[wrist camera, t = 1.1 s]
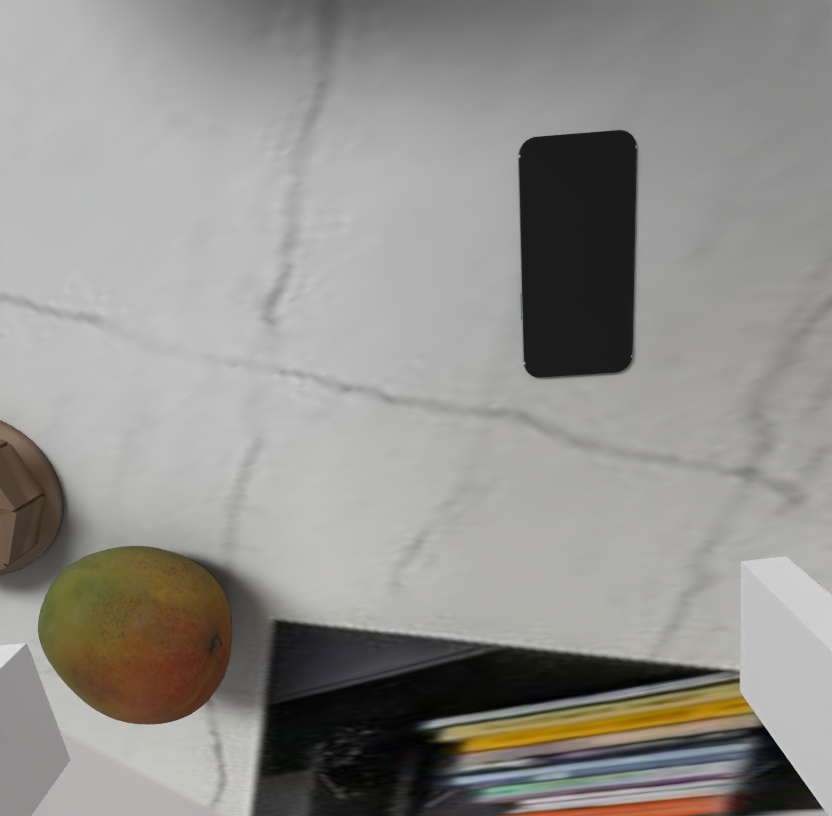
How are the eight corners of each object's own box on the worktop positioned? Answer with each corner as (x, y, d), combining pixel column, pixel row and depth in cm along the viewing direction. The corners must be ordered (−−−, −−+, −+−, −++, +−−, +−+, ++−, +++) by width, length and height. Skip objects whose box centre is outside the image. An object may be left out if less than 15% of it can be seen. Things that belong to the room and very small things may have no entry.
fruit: (254, 658, 45) (207, 767, 35) (97, 657, 45) (6, 765, 35) (242, 522, 42) (186, 600, 32) (73, 522, 42) (-32, 599, 33)
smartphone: (638, 128, 35) (633, 371, 38) (634, 131, 35) (629, 369, 39) (517, 138, 35) (523, 378, 39) (515, 140, 36) (521, 376, 39)
